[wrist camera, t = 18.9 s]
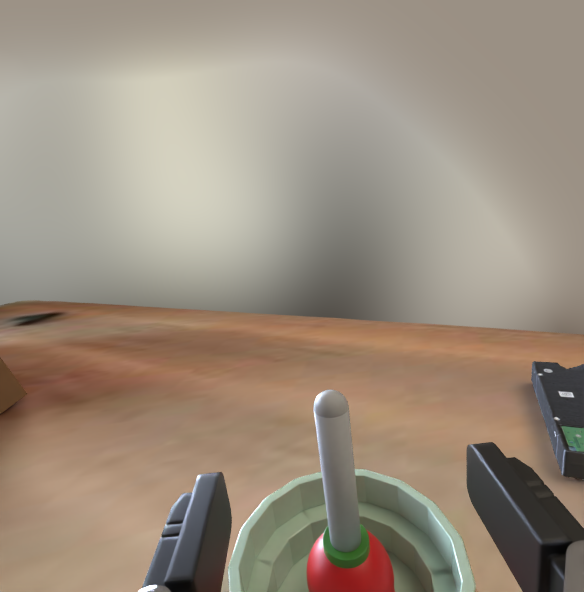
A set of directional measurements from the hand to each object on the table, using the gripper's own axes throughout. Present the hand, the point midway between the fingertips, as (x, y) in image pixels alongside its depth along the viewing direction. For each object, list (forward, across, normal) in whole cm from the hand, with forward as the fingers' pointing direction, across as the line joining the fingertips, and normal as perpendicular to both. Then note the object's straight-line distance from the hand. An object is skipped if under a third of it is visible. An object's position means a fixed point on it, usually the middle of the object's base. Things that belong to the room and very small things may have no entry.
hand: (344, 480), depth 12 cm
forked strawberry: (+5, 0, +14) cm, 15 cm away
